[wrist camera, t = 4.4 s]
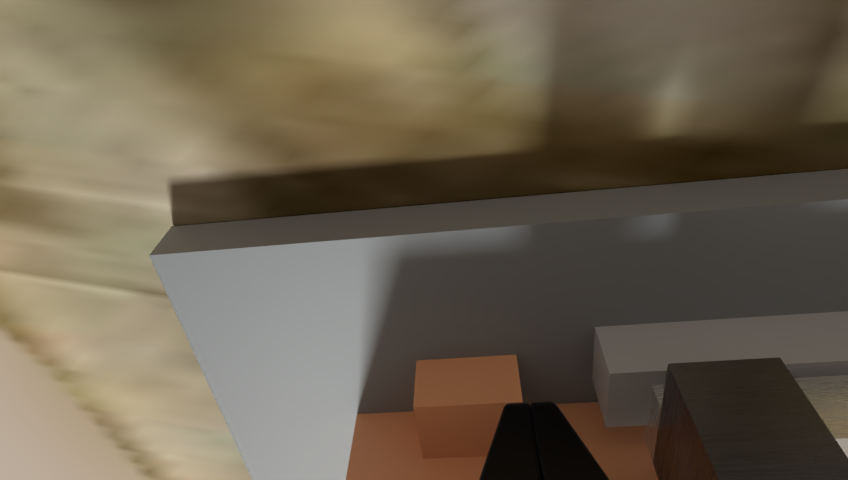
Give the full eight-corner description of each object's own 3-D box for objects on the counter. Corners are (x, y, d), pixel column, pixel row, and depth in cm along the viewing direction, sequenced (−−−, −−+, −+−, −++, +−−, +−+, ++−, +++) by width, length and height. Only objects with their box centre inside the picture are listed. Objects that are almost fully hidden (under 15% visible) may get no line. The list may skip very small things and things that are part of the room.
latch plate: (1072, 149, 10) (1220, 216, 8) (854, 561, 17) (903, 647, 15) (172, 226, 11) (117, 296, 9) (317, 573, 18) (302, 652, 16)
